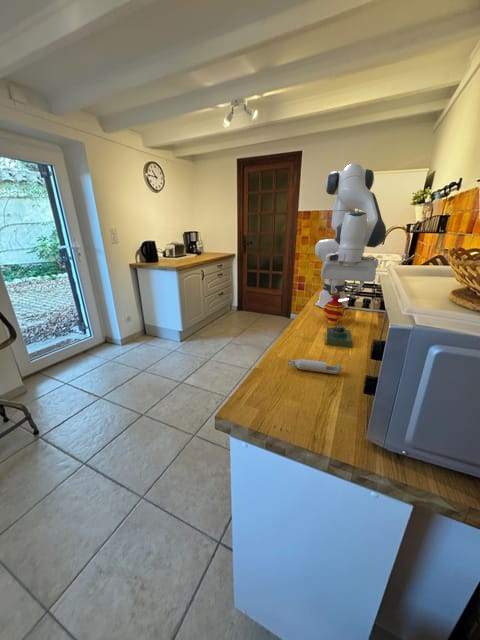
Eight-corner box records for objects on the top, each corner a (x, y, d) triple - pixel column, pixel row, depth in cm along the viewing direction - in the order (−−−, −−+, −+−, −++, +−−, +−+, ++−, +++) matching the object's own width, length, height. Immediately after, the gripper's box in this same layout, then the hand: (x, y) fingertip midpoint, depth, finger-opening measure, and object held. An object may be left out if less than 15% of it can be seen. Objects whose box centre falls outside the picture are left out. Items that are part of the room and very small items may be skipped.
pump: (334, 328, 112) (335, 324, 111) (343, 329, 110) (344, 325, 110) (335, 331, 108) (335, 327, 108) (343, 332, 107) (344, 328, 107)
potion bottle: (340, 318, 134) (344, 291, 129) (345, 326, 125) (350, 297, 119) (319, 318, 135) (323, 291, 130) (323, 325, 126) (327, 296, 120)
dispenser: (325, 333, 118) (327, 323, 116) (349, 335, 115) (350, 325, 113) (325, 344, 107) (327, 334, 105) (351, 347, 104) (353, 337, 103)
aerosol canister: (339, 370, 89) (342, 353, 87) (341, 377, 85) (344, 360, 82) (288, 363, 93) (289, 347, 91) (287, 370, 89) (288, 354, 87)
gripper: (377, 256, 98) (371, 291, 103) (322, 254, 104) (319, 287, 109) (381, 258, 93) (374, 294, 98) (322, 256, 99) (318, 290, 103)
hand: (344, 290), depth 103 cm, fingers open, 8 cm apart
